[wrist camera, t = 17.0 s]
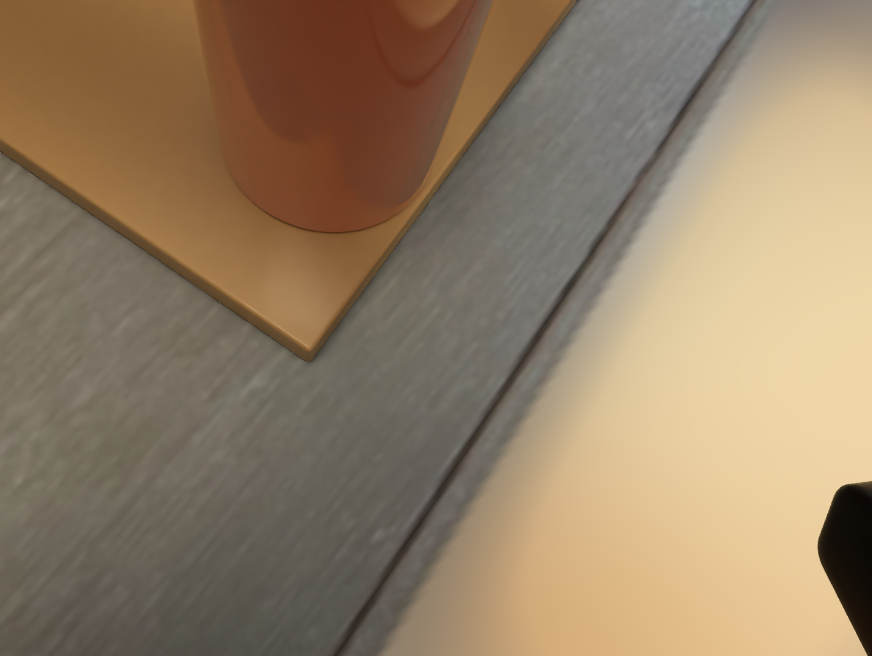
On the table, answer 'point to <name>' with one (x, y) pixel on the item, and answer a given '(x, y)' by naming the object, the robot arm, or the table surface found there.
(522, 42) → the low shelf board
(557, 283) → the table surface
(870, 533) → the robot arm
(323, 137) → the orange knobbed cylinder
